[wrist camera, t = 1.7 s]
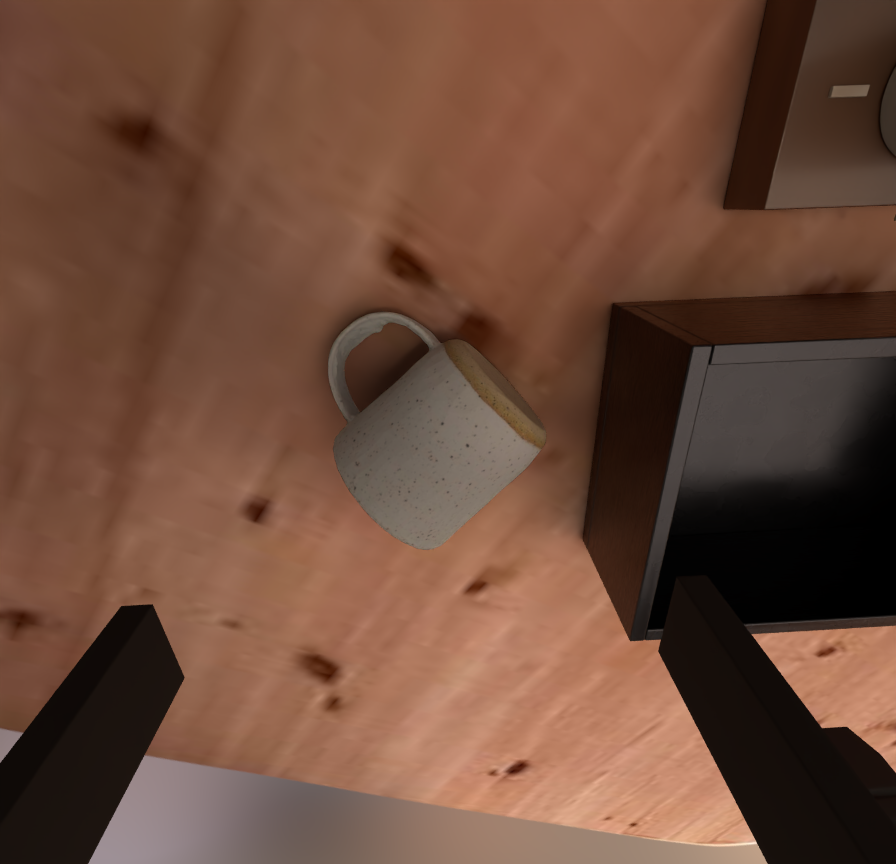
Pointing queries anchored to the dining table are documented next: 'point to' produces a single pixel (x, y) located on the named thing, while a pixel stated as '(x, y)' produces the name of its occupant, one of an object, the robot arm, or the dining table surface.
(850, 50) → the panel
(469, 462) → the ceramic mug
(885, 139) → the tap knob
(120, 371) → the dining table surface
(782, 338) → the dark brown open box
